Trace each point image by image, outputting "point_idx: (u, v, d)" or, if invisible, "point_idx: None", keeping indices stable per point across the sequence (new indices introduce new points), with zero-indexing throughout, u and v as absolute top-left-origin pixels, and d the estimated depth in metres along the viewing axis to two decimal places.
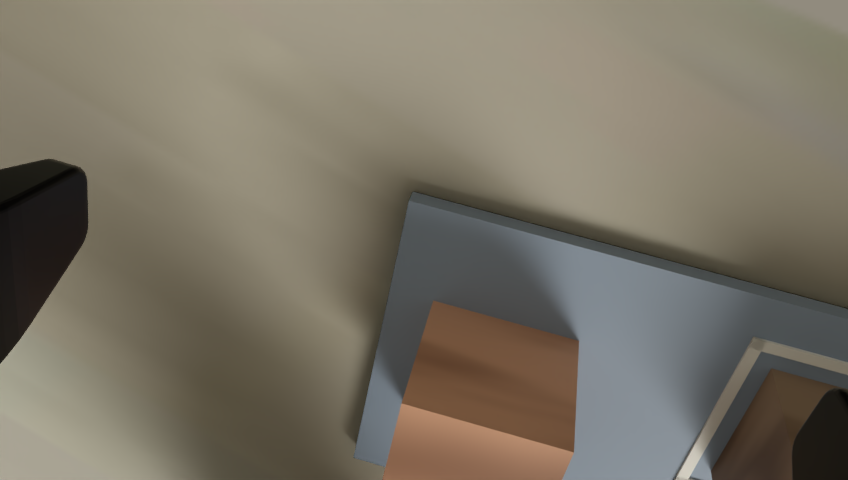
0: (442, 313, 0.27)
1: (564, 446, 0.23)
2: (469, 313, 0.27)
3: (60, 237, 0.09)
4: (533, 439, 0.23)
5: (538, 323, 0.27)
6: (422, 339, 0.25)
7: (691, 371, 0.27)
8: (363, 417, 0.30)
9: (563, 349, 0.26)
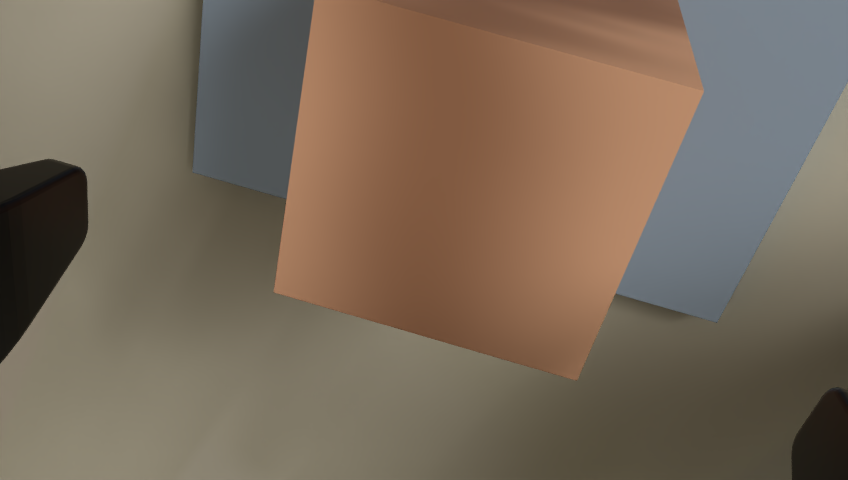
0: None
1: (319, 2, 0.10)
2: None
3: (60, 237, 0.09)
4: (305, 69, 0.11)
5: None
6: None
7: None
8: None
9: None
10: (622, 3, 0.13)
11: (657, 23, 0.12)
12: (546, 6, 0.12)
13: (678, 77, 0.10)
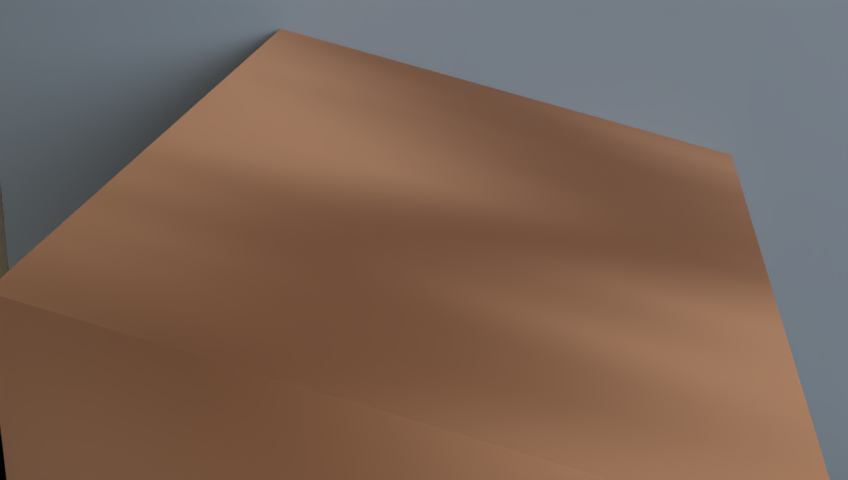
0: None
1: None
2: None
3: None
4: (7, 425, 0.05)
5: None
6: None
7: None
8: None
9: None
10: (651, 222, 0.07)
11: (719, 280, 0.06)
12: (507, 266, 0.06)
13: None
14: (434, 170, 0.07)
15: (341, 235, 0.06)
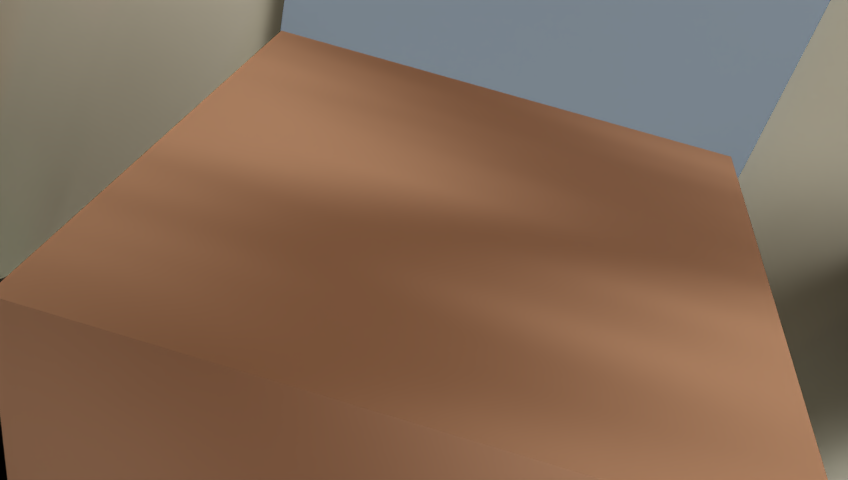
0: None
1: None
2: None
3: None
4: (9, 425, 0.05)
5: (418, 7, 0.19)
6: None
7: None
8: None
9: None
10: (651, 224, 0.07)
11: (718, 282, 0.06)
12: (507, 268, 0.06)
13: None
14: (435, 173, 0.07)
15: (341, 238, 0.06)
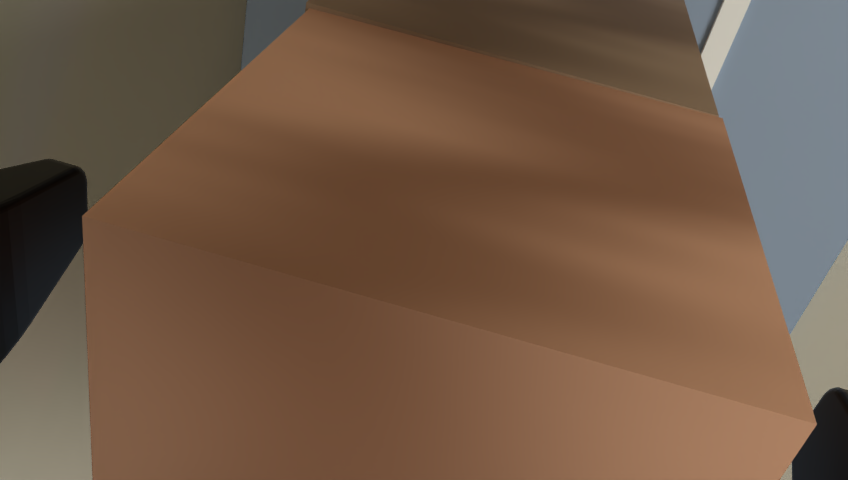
0: None
1: None
2: None
3: (59, 237, 0.09)
4: (91, 338, 0.06)
5: None
6: None
7: None
8: None
9: None
10: (649, 173, 0.08)
11: (710, 219, 0.07)
12: (521, 205, 0.07)
13: (763, 384, 0.05)
14: (454, 127, 0.08)
15: (376, 178, 0.07)
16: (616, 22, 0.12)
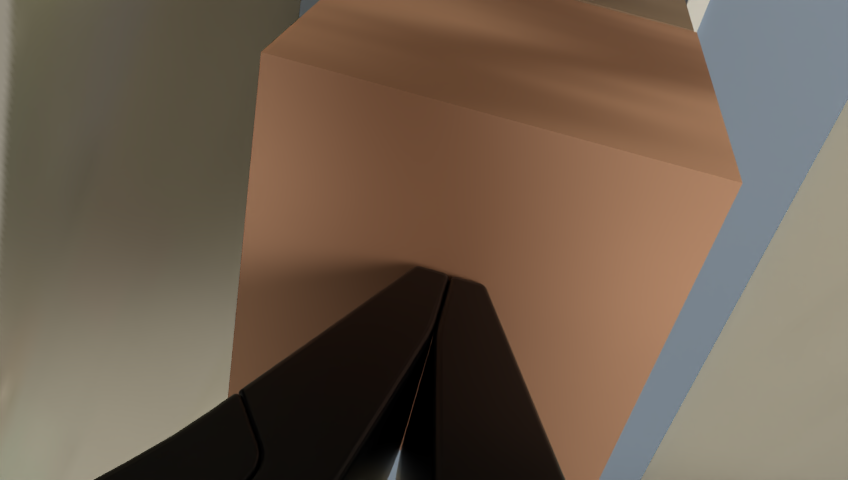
0: None
1: (267, 71, 0.09)
2: None
3: None
4: (254, 149, 0.09)
5: None
6: None
7: None
8: None
9: None
10: (638, 58, 0.11)
11: (681, 85, 0.10)
12: (546, 68, 0.10)
13: (709, 163, 0.08)
14: (496, 25, 0.11)
15: (445, 47, 0.09)
16: None
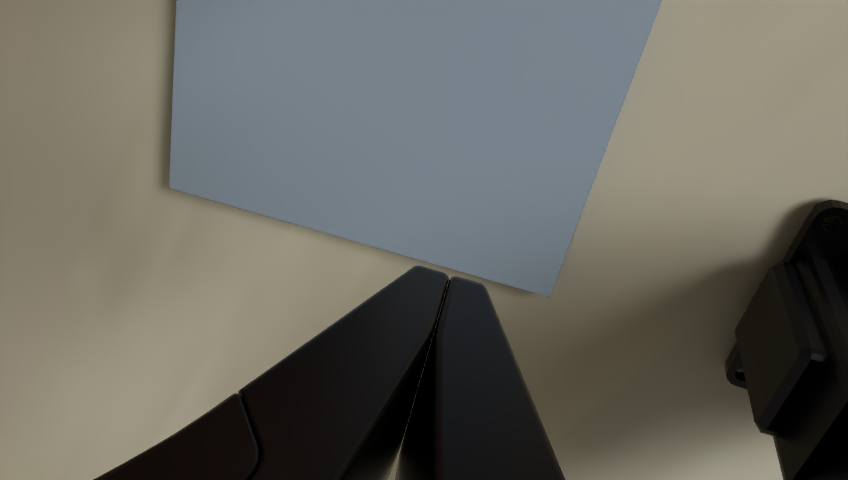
0: None
1: None
2: None
3: None
4: None
5: (290, 61, 0.22)
6: None
7: None
8: (476, 274, 0.24)
9: None
10: None
11: None
12: None
13: None
14: None
15: None
16: None
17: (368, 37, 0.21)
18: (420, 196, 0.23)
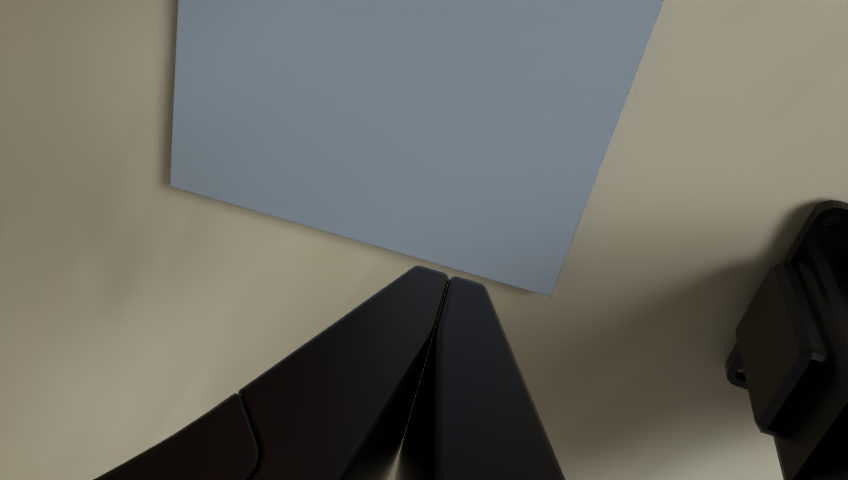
0: None
1: None
2: None
3: None
4: None
5: (291, 60, 0.22)
6: None
7: None
8: (476, 273, 0.24)
9: None
10: None
11: None
12: None
13: None
14: None
15: None
16: None
17: (370, 36, 0.21)
18: (421, 195, 0.23)
